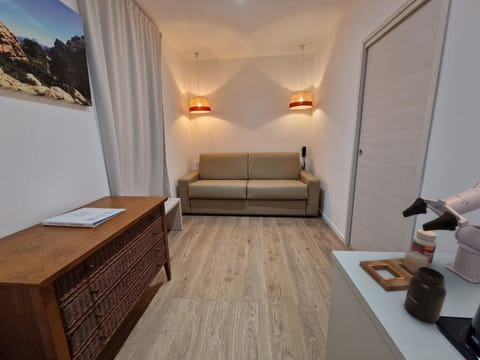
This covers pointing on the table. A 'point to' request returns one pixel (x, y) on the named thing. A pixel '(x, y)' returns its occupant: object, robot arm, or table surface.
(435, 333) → the table surface
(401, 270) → the wooden shape sorting board
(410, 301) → the supplement bottle
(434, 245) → the pill bottle
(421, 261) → the beige rectangular block
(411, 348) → the table surface
